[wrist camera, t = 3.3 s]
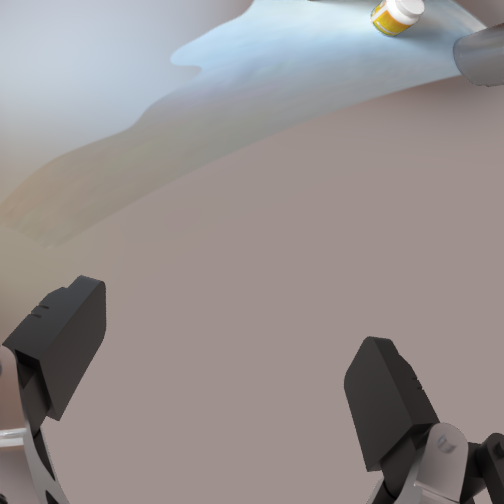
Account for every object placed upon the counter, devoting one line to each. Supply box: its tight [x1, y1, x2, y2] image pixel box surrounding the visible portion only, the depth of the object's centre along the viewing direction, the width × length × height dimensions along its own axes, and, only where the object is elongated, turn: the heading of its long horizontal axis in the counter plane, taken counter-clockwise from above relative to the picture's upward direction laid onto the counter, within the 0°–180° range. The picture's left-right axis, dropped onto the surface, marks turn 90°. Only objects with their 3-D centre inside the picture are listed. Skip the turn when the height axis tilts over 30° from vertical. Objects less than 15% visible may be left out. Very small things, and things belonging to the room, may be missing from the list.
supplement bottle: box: [370, 0, 425, 36], centre depth 30 cm, size 5×5×10 cm
